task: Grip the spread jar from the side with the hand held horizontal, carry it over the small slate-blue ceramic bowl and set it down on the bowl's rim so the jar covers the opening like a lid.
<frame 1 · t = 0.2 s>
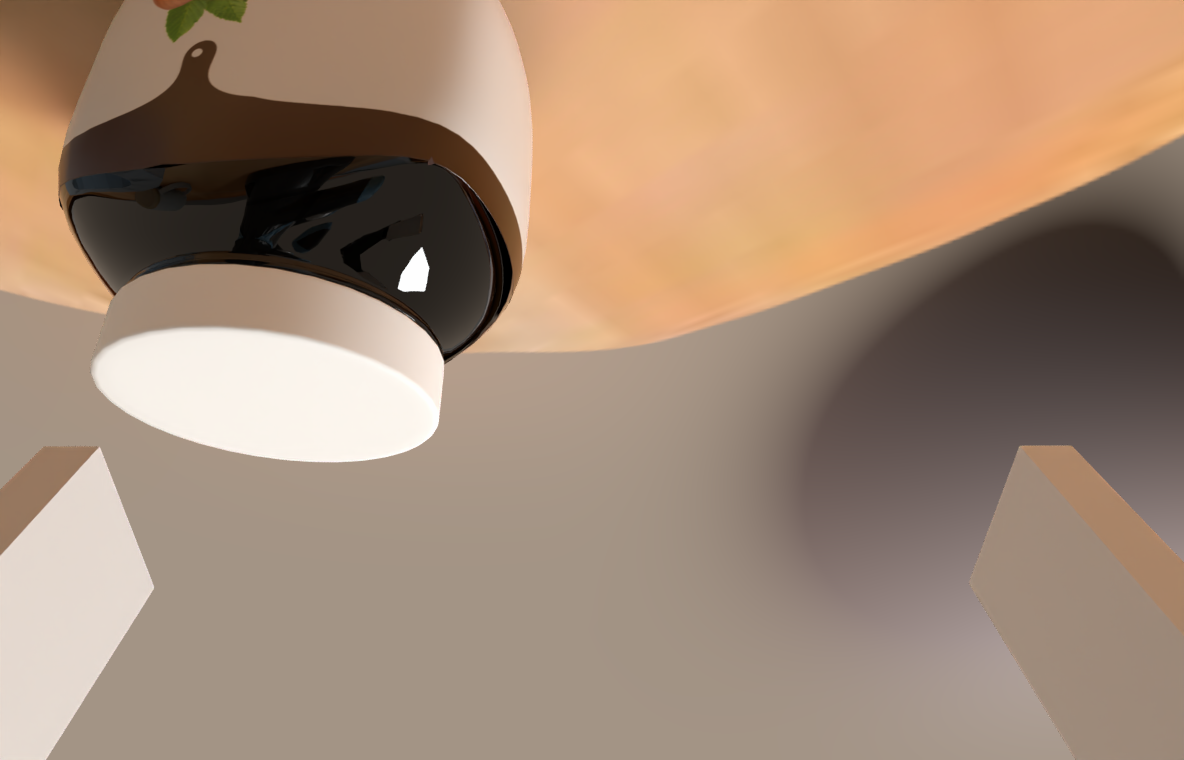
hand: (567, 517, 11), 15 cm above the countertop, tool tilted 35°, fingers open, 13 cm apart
spread jar: (348, 74, 23), on the countertop
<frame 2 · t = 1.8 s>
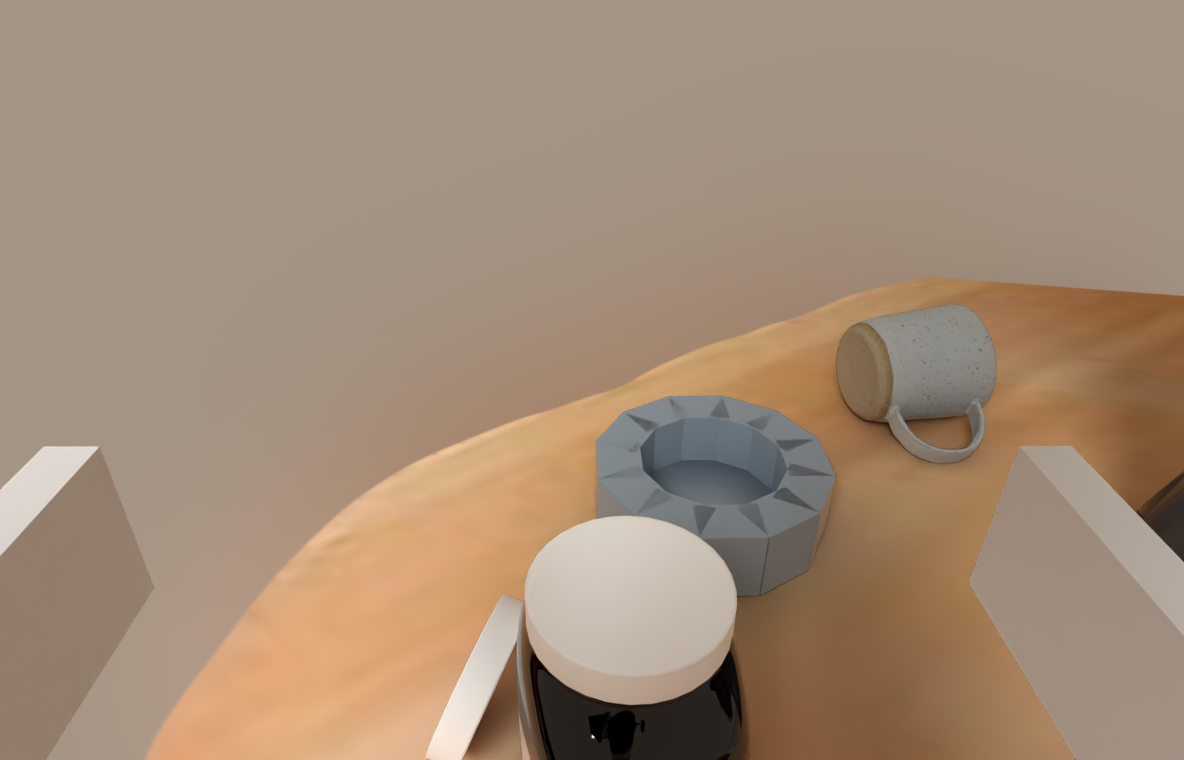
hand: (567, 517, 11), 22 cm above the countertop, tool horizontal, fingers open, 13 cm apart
slate bowl: (706, 512, 45), on the countertop
ceramic mug: (912, 423, 54), on the countertop
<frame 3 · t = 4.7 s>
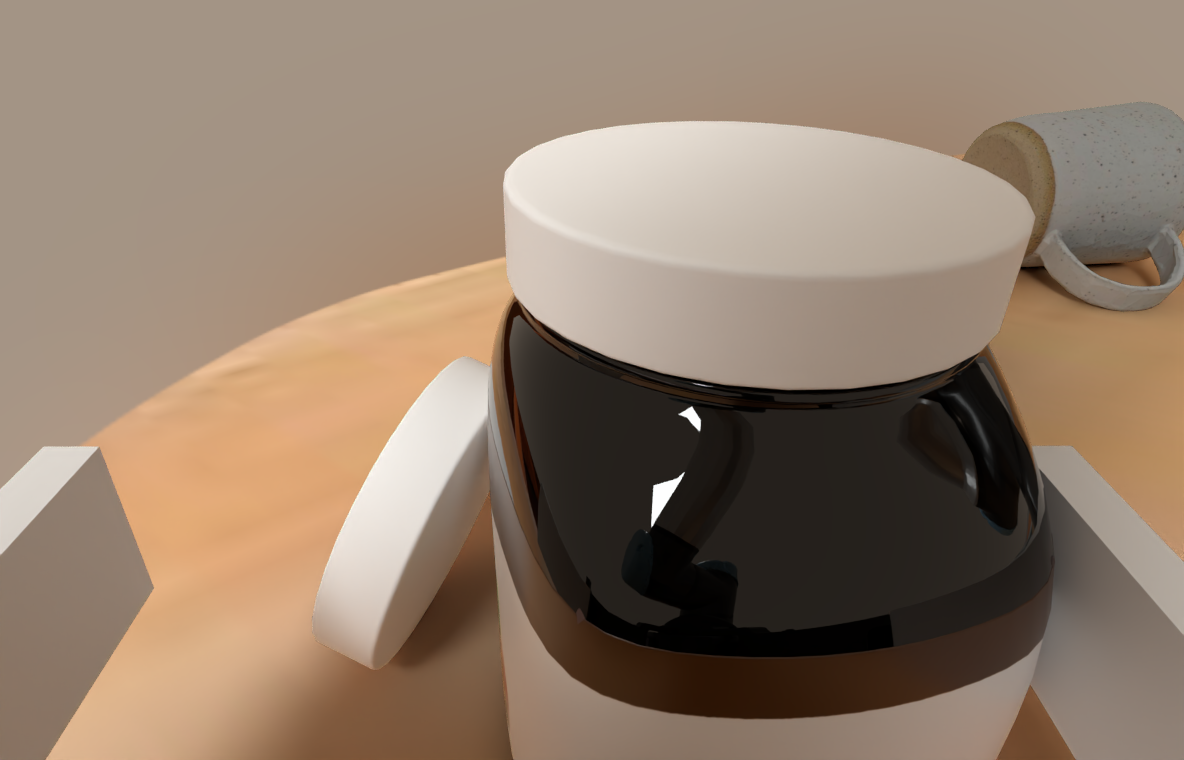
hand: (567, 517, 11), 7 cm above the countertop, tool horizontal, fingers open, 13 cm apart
spread jar: (595, 697, 17), on the countertop
ceramic mug: (1062, 273, 39), on the countertop
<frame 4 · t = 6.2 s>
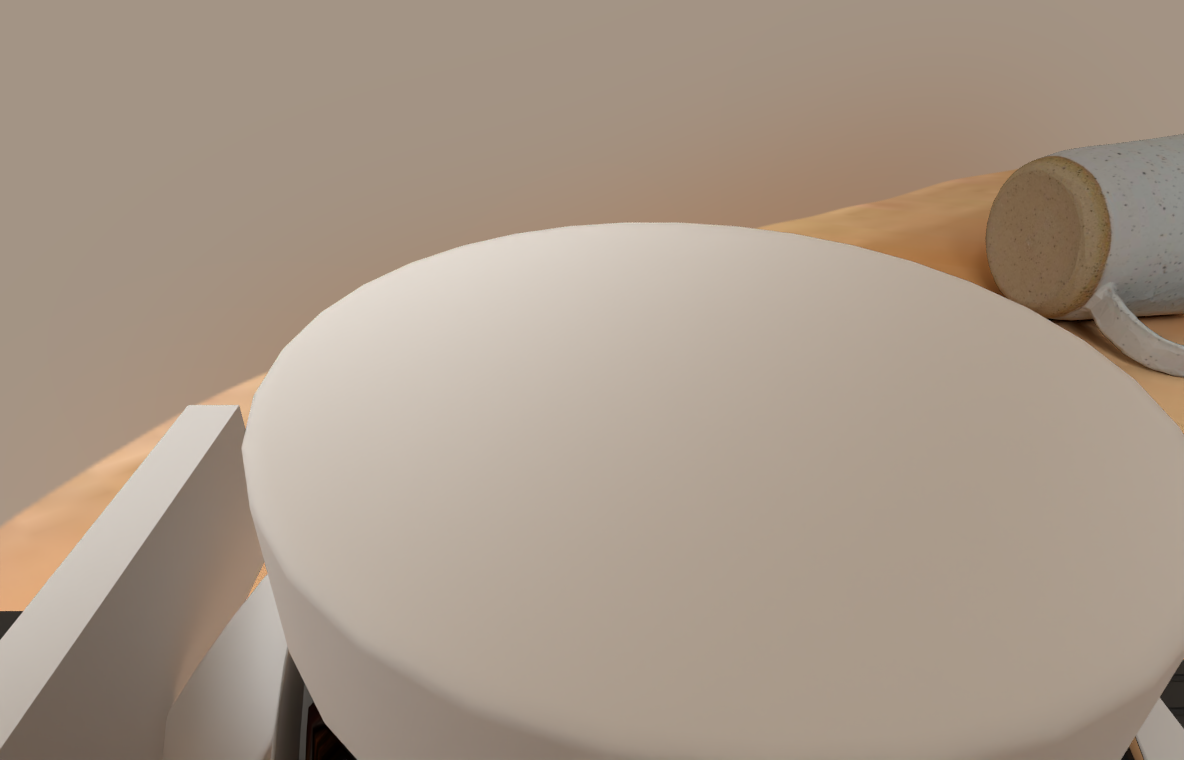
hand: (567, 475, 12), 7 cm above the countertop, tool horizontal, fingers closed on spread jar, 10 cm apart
ceramic mug: (1110, 325, 34), on the countertop
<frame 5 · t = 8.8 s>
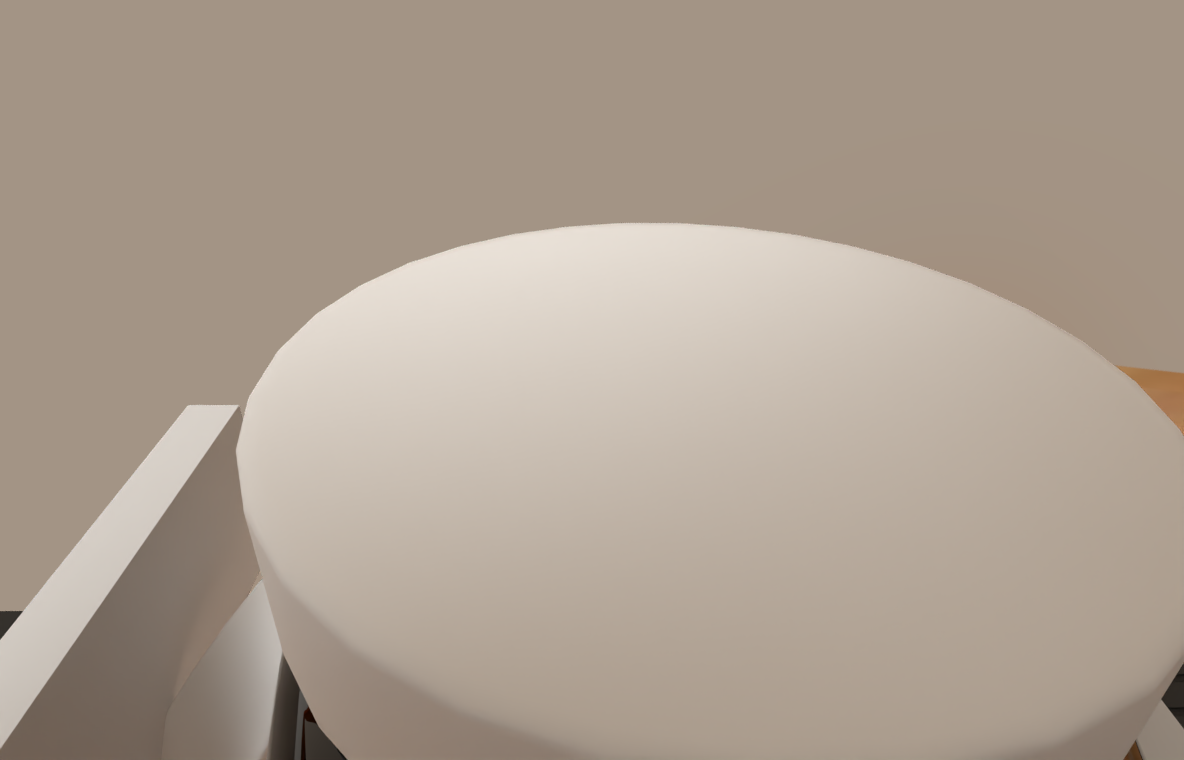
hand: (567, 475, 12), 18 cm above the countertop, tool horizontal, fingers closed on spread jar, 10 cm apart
when the fingers open (12 cm above the countertop, at t = 11.2 s): spread jar drops 1 cm, resting on slate bowl.
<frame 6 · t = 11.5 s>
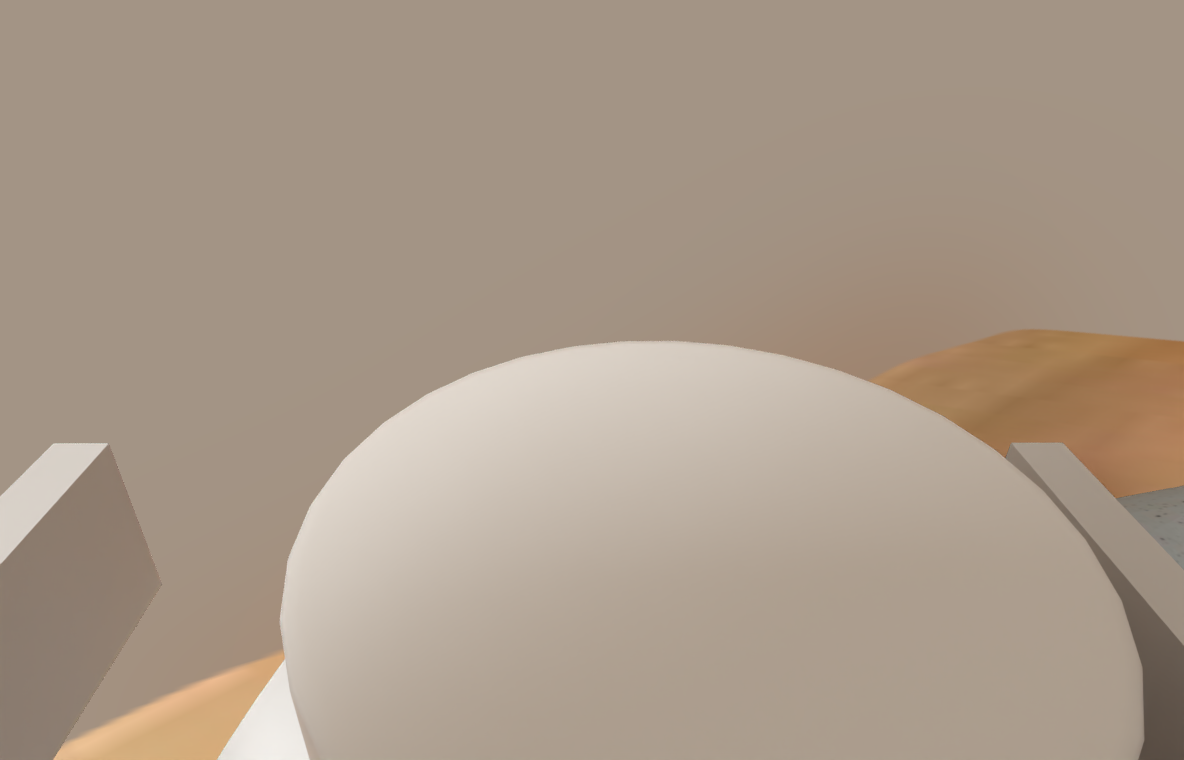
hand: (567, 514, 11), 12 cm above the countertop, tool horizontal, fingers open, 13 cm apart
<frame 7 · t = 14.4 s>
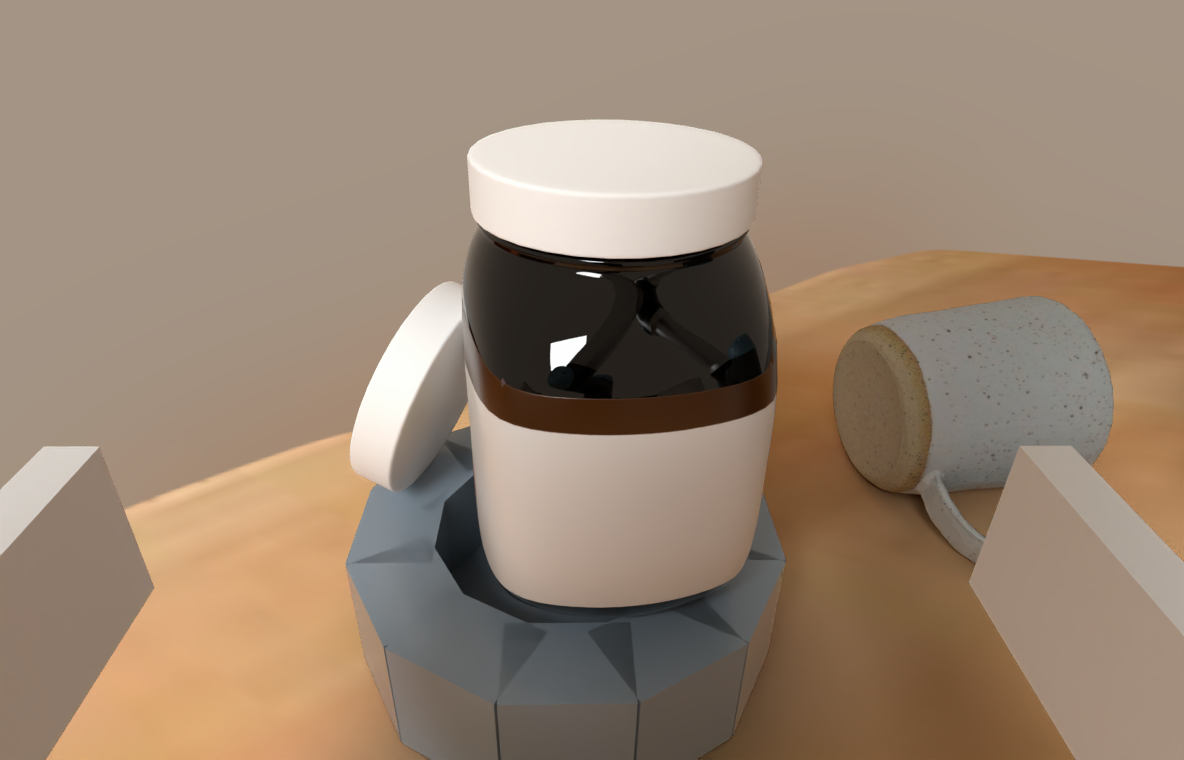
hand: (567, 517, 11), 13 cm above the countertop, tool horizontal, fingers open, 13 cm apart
slate bowl: (567, 612, 26), on the countertop
spread jar: (542, 519, 24), point 4 cm above the countertop, touching slate bowl
ceramic mug: (957, 493, 32), on the countertop
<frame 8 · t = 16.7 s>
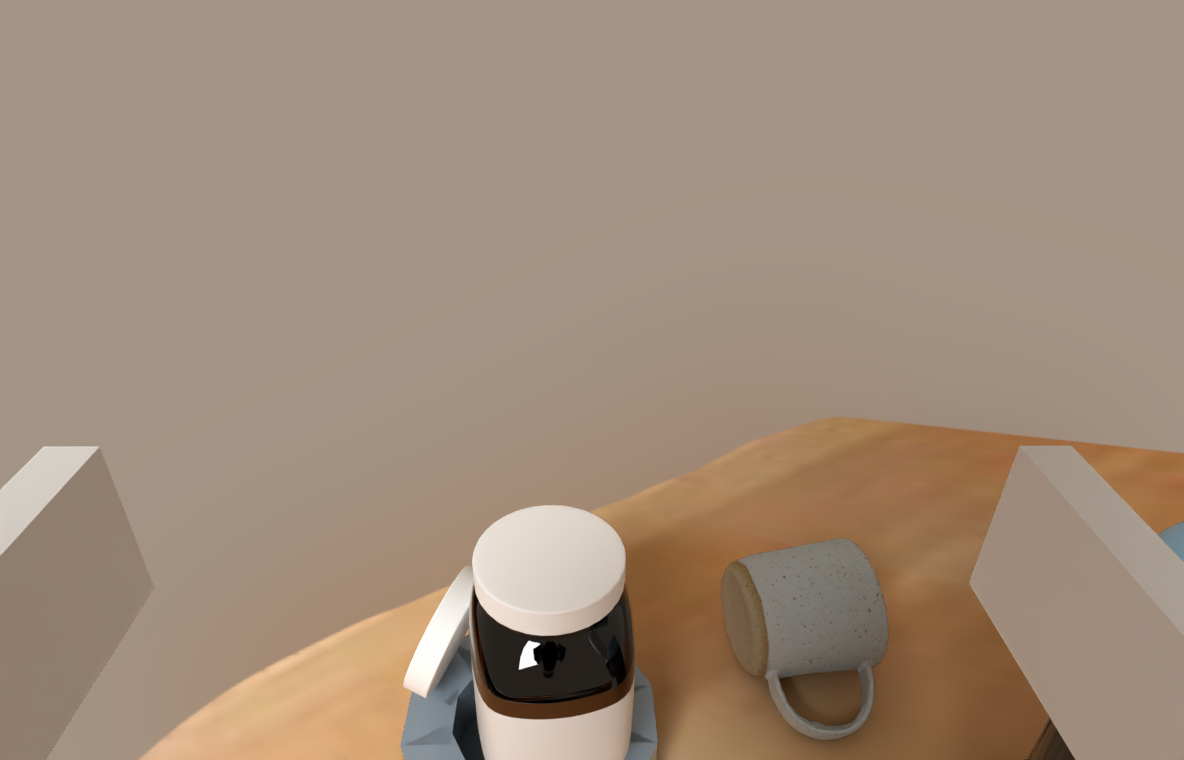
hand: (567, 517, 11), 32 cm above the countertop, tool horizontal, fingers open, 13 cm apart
slate bowl: (533, 759, 42), on the countertop
spread jar: (516, 709, 40), point 4 cm above the countertop, touching slate bowl
ceramic mug: (802, 669, 48), on the countertop
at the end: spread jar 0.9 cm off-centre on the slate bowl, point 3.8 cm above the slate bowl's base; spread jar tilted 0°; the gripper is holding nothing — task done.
